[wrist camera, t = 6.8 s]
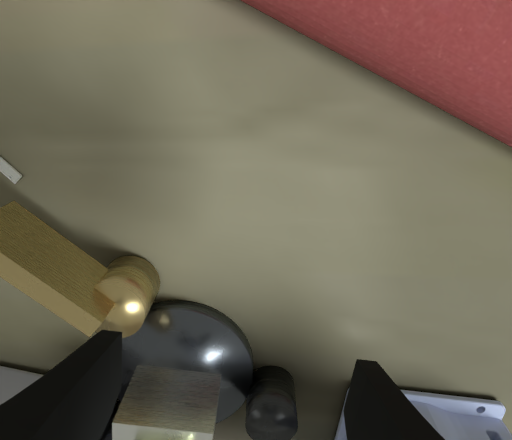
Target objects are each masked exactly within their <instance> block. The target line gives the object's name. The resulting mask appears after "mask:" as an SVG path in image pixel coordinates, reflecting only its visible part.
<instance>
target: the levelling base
mask: <svg viewBox="0 0 512 440" xmlns="http://www.w3.org/2000/svg"><path fill="white" fill-rule="evenodd" d="M0 172H1V173H3V174H4V175H5V176H6V177H7V178H8V179H10V180H11V181H12V182H13V183H14V184H16V183H17V182H18V181H19V180H20V179H21V177H22V176H23V175H22V174H21V173H19V172H18V171H17V170H16V169H15V168H14V167H13V166H11V165H10V164H9V163H8V162H7V161H6V160H5V159H3V158H2V157H1V156H0ZM246 398H247V406H246V425H245V426H246V431H247V433H248V434H249V436H250V437H251V438H252V439H253V440H290V439H291V438H292V437H293V436H294V435H295V433H296V431H297V428H298V423H297V412H296V401H295V391H294V381H293V378H292V376H291V375H290V374H289V373H288V372H287V371H286V370H284V369H282V368H280V367H276V366H265V367H261V368H259V369H257V370H255V371H254V372H253V355H252V351H251V347H250V344H249V342H248V340H247V338H246V336H245V335H244V333H243V332H242V331H241V329H240V328H239V327H238V326H237V325H236V324H235V323H234V322H233V321H232V320H231V319H230V318H228V317H227V316H226V315H224V314H223V313H221V312H219V311H217V310H216V309H213V308H211V307H209V306H206V305H203V304H199V303H195V302H189V301H178V300H177V301H165V302H159V303H155V304H152V306H151V308H150V310H149V312H148V314H147V316H146V318H145V320H144V322H143V324H142V326H141V328H140V329H139V330H138V331H137V332H136V333H134V334H133V335H131V336H128V337H125V338H122V386H121V389H120V392H119V395H118V399H119V400H120V401H121V403H119V404H118V405H117V406H116V407H115V409H114V411H113V413H112V415H111V417H110V420H109V422H108V424H107V426H106V429H105V431H104V433H103V435H102V438H101V440H213V439H214V432H215V425H216V423H218V422H220V421H222V420H224V419H226V418H227V417H229V416H230V415H232V414H233V413H234V412H235V411H237V410H238V409H239V408H240V406H241V405H242V404H243V403H244V401H245V400H246Z"/></svg>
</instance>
